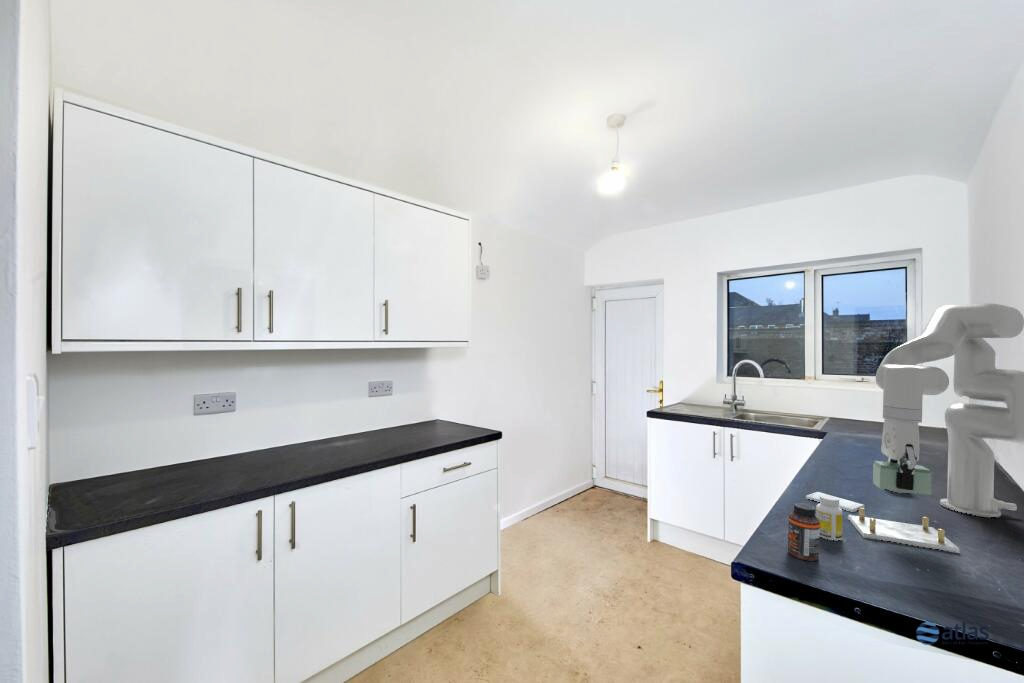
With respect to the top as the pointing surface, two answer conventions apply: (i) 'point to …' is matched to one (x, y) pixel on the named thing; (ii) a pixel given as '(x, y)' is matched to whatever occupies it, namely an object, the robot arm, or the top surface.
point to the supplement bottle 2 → (830, 518)
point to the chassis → (902, 532)
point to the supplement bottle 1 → (804, 532)
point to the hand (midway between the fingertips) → (900, 485)
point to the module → (887, 477)
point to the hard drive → (843, 503)
